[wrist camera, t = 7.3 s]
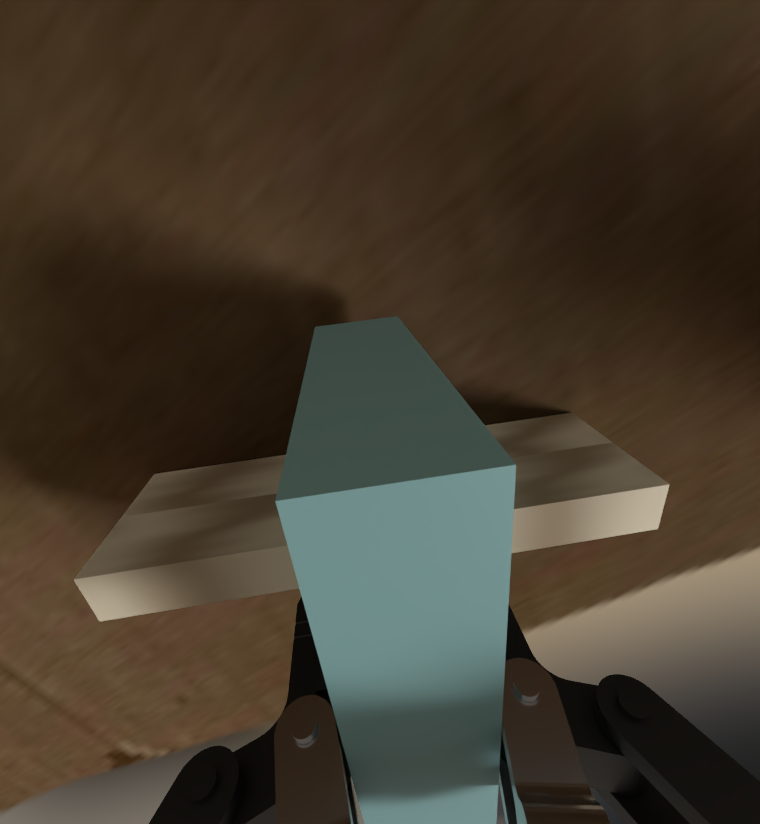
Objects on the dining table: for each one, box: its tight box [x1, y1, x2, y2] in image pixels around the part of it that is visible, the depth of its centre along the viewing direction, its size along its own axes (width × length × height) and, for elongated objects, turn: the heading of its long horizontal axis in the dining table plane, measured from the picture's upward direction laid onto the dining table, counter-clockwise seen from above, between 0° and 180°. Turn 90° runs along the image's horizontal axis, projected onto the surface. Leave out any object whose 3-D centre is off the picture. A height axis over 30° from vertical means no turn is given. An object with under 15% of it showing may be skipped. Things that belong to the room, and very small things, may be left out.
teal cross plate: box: [275, 316, 516, 824], centre depth 12 cm, size 14×3×10 cm, turn 6°
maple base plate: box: [74, 413, 670, 621], centre depth 16 cm, size 20×2×6 cm, turn 96°
